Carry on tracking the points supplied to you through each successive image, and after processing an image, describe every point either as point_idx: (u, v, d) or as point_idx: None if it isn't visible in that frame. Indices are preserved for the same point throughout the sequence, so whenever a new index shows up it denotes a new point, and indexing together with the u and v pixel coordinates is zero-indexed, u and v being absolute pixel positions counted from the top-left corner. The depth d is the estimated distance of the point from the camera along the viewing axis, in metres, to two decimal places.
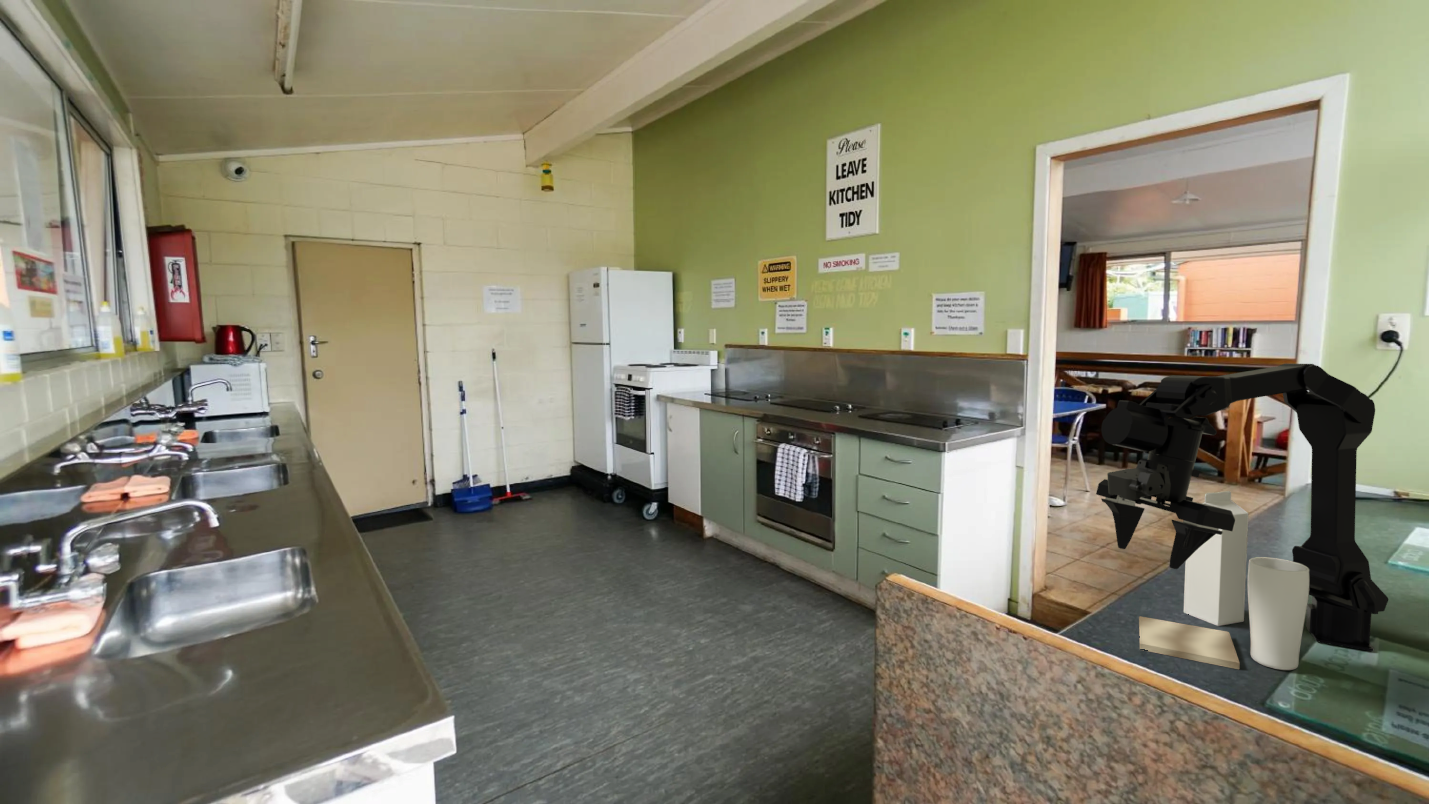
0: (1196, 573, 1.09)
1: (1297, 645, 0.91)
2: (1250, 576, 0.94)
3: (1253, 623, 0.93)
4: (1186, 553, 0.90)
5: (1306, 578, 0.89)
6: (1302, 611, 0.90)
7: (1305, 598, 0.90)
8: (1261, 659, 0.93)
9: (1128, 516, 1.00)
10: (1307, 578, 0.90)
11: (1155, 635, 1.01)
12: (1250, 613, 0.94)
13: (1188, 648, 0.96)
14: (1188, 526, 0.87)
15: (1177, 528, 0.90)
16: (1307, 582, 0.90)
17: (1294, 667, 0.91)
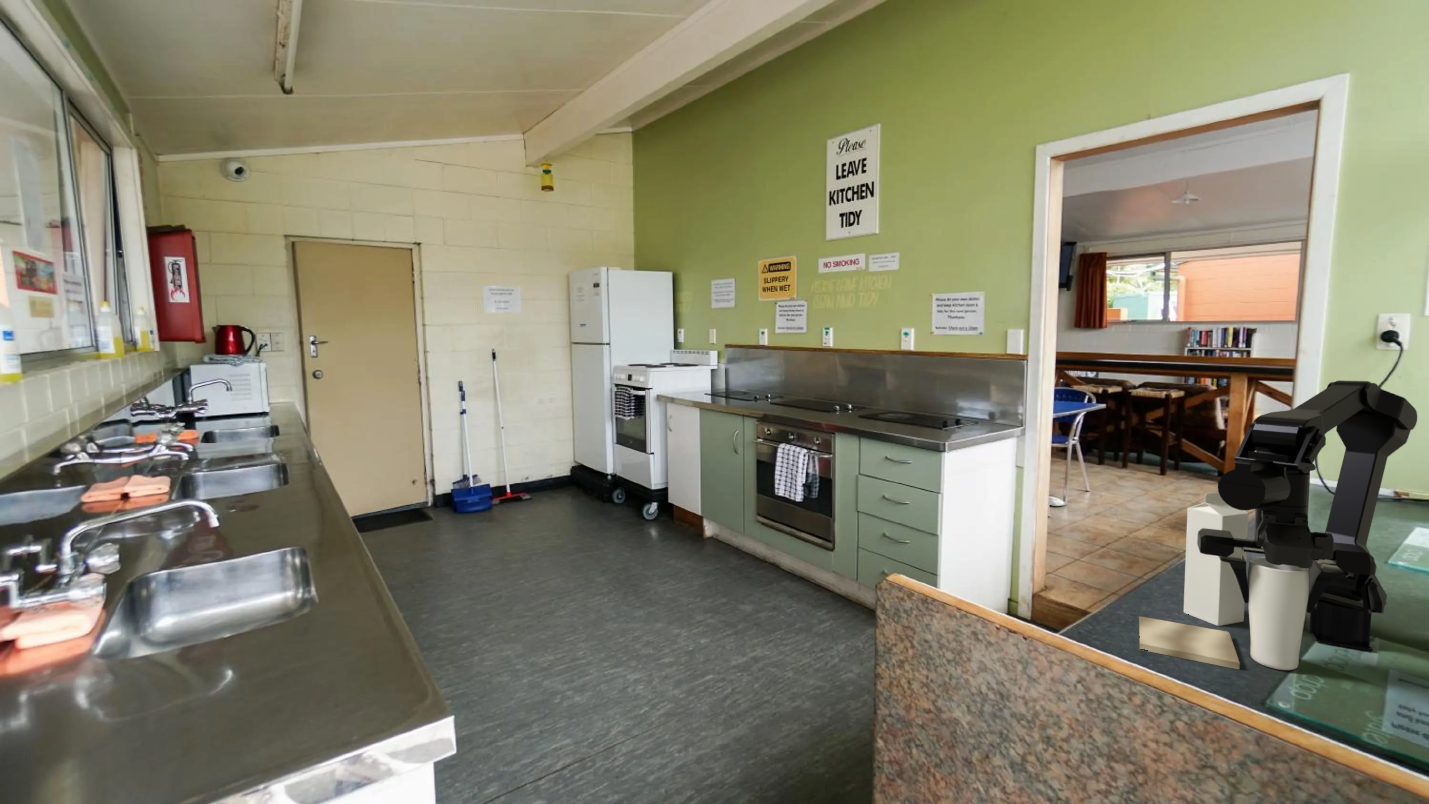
0: (1196, 573, 1.09)
1: (1297, 645, 0.91)
2: (1250, 576, 0.94)
3: (1253, 623, 0.93)
4: None
5: (1306, 578, 0.89)
6: (1302, 611, 0.90)
7: (1305, 598, 0.90)
8: (1261, 659, 0.93)
9: None
10: (1307, 578, 0.90)
11: (1155, 635, 1.01)
12: (1250, 613, 0.94)
13: (1188, 648, 0.96)
14: (1345, 576, 0.86)
15: (1322, 577, 0.88)
16: (1307, 582, 0.90)
17: (1294, 667, 0.91)
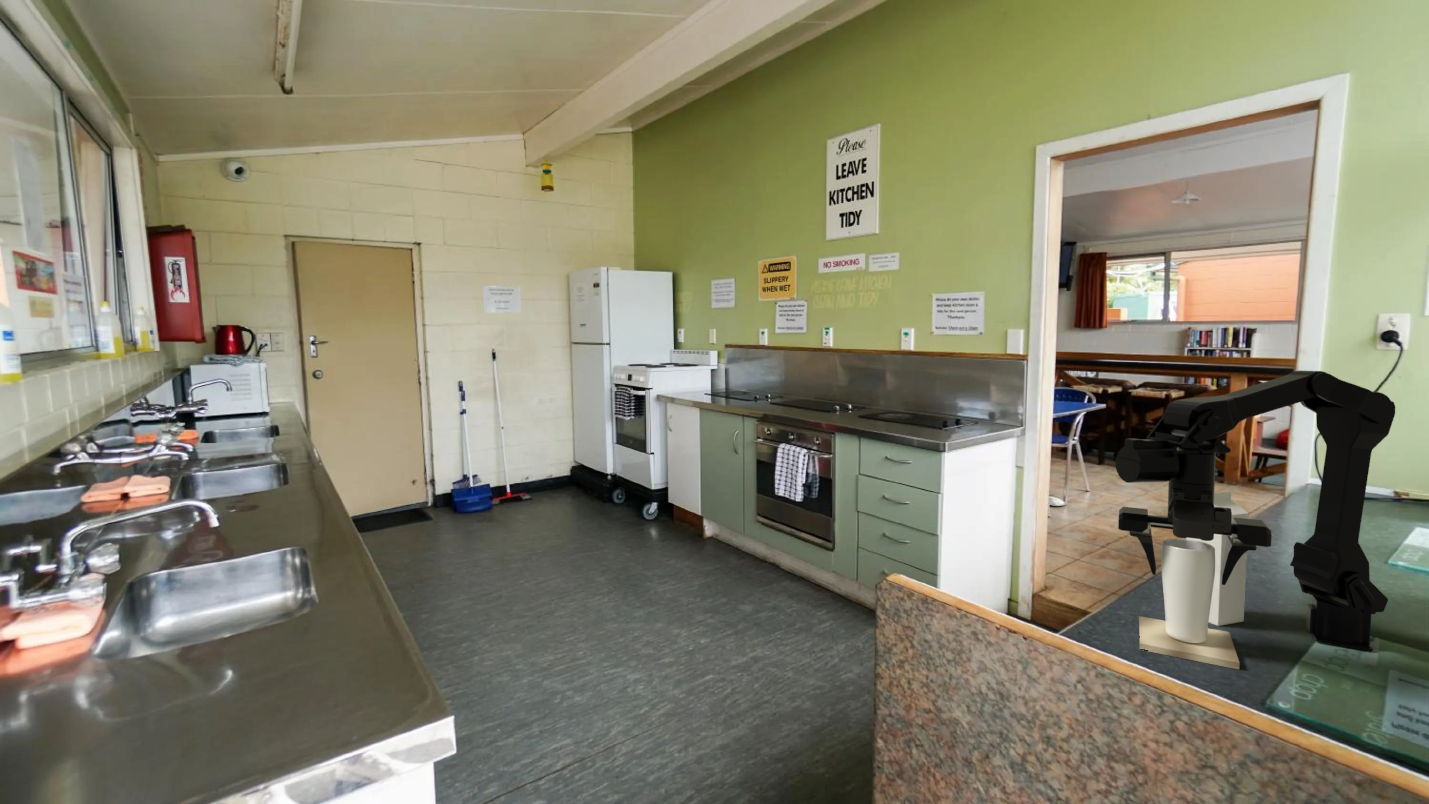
0: None
1: (1205, 619, 0.97)
2: (1163, 556, 1.00)
3: (1166, 600, 1.00)
4: None
5: (1211, 557, 0.96)
6: (1208, 587, 0.96)
7: (1211, 575, 0.96)
8: (1173, 633, 0.99)
9: None
10: (1212, 556, 0.96)
11: (1155, 635, 1.01)
12: (1164, 591, 1.01)
13: (1188, 648, 0.96)
14: (1253, 549, 0.92)
15: (1234, 551, 0.94)
16: (1212, 560, 0.96)
17: (1203, 640, 0.97)
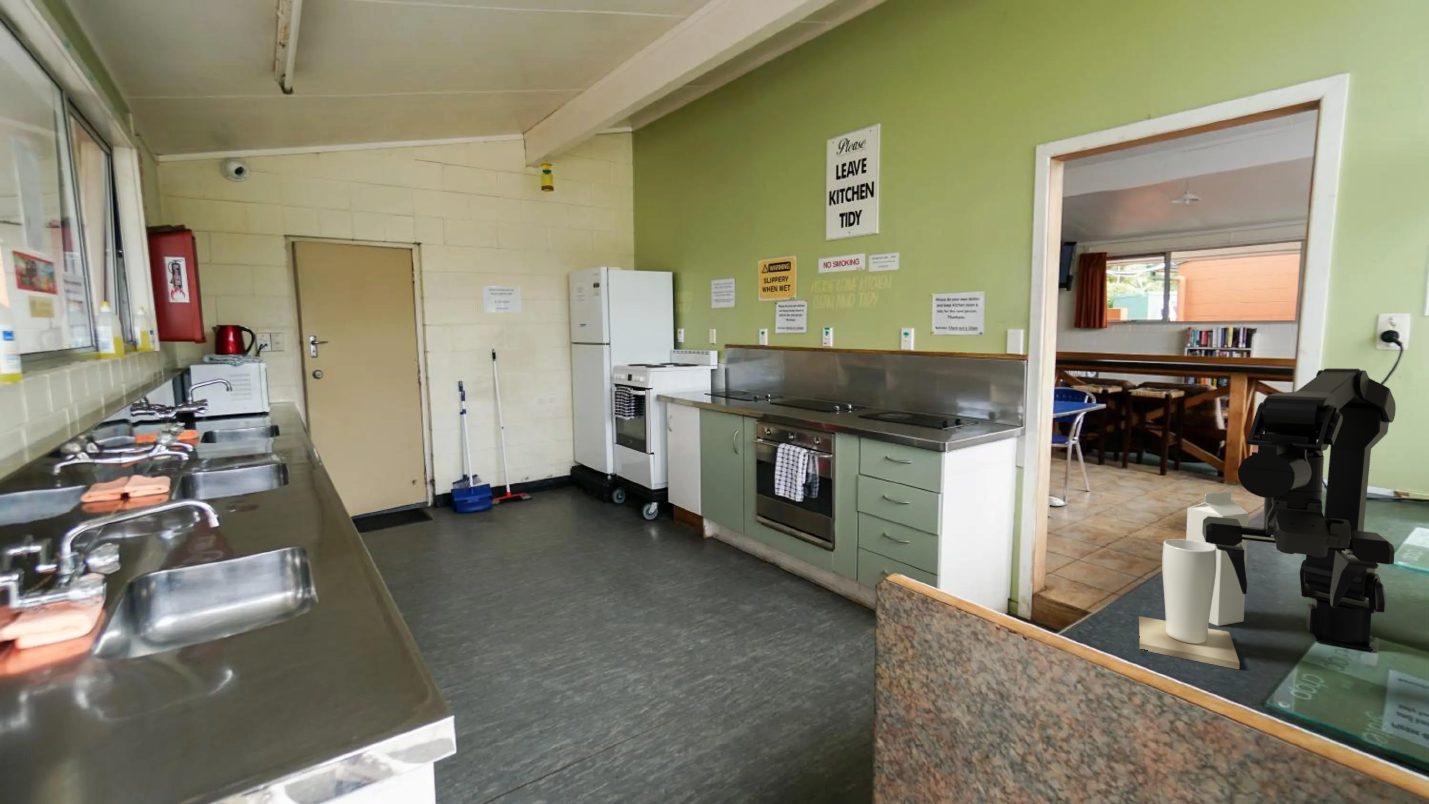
0: None
1: (1205, 620, 0.97)
2: (1164, 556, 1.00)
3: (1167, 600, 1.00)
4: None
5: (1212, 557, 0.96)
6: (1209, 588, 0.96)
7: (1212, 576, 0.96)
8: (1173, 634, 0.99)
9: None
10: (1213, 557, 0.96)
11: (1155, 635, 1.01)
12: (1164, 591, 1.00)
13: (1188, 648, 0.96)
14: (1375, 567, 0.80)
15: (1350, 568, 0.82)
16: (1213, 561, 0.96)
17: (1203, 641, 0.97)
